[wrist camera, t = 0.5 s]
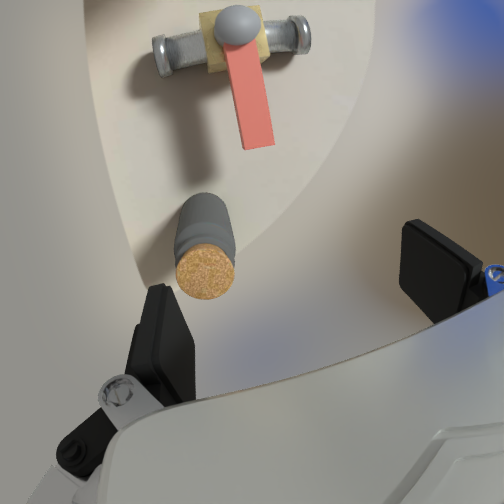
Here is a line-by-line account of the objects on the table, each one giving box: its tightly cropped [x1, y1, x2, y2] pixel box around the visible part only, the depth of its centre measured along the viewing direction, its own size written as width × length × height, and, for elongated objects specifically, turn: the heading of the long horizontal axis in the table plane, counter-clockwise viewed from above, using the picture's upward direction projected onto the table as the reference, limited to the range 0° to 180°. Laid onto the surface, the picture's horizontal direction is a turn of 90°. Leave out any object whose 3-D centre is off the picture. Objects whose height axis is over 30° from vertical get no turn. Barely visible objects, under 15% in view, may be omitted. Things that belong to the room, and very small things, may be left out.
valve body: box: [152, 5, 311, 77], centre depth 25 cm, size 6×16×6 cm, turn 100°
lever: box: [214, 5, 275, 150], centre depth 23 cm, size 14×4×3 cm, turn 10°
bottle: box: [174, 193, 236, 299], centre depth 30 cm, size 6×6×15 cm
